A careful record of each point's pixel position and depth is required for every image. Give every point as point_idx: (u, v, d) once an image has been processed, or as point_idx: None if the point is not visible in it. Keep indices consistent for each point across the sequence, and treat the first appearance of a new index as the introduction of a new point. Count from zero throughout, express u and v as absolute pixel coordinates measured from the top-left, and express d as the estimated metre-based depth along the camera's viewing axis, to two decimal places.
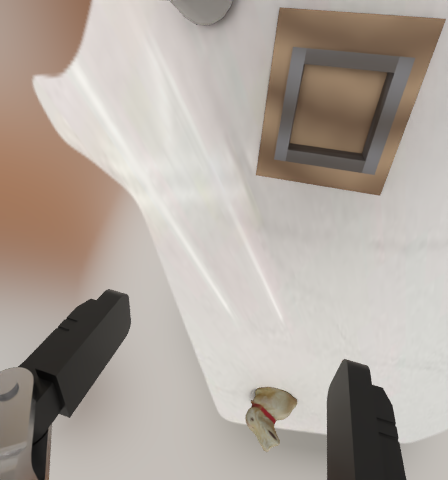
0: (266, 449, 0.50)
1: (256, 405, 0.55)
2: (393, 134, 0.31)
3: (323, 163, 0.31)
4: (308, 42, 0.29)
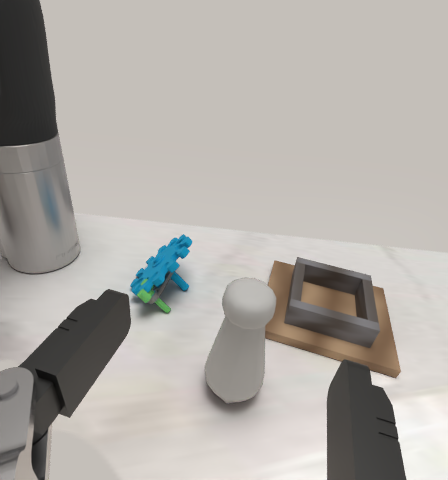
0: None
1: None
2: None
3: (371, 299, 0.38)
4: (281, 314, 0.38)
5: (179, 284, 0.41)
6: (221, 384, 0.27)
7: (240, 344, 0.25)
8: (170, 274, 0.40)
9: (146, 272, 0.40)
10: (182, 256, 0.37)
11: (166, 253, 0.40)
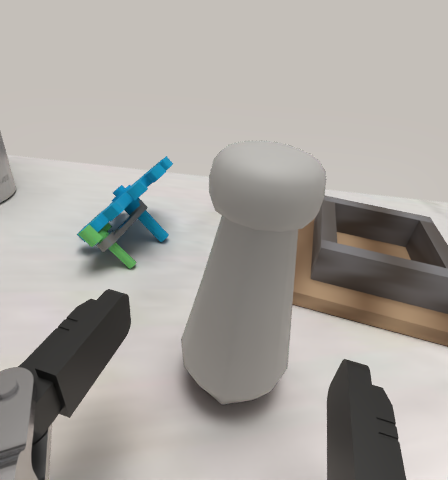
0: None
1: None
2: None
3: (442, 243, 0.25)
4: (304, 268, 0.25)
5: (153, 231, 0.28)
6: (211, 366, 0.14)
7: (248, 276, 0.12)
8: (138, 212, 0.26)
9: None
10: (154, 177, 0.24)
11: None
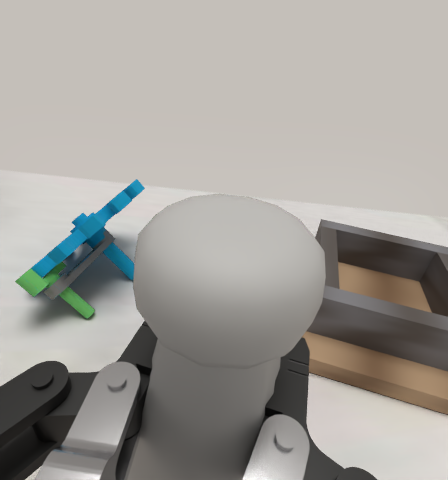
0: None
1: None
2: None
3: None
4: None
5: (122, 267, 0.23)
6: None
7: (200, 416, 0.07)
8: (102, 247, 0.22)
9: None
10: (115, 209, 0.19)
11: None
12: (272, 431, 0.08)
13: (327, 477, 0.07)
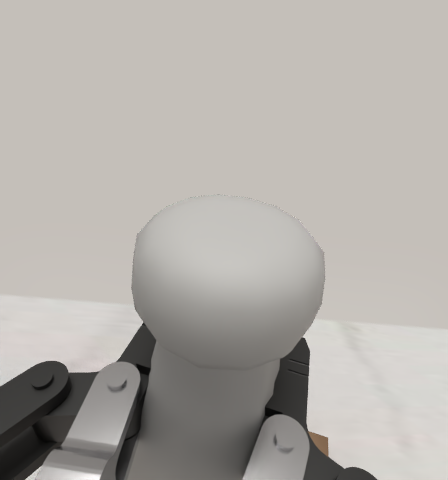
0: None
1: None
2: None
3: None
4: None
5: None
6: None
7: (198, 417, 0.07)
8: None
9: None
10: None
11: None
12: (272, 431, 0.08)
13: (327, 477, 0.07)
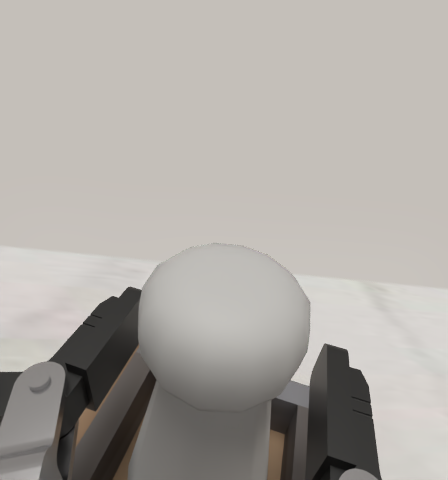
0: None
1: None
2: None
3: None
4: None
5: None
6: None
7: (197, 448, 0.08)
8: None
9: None
10: None
11: None
12: None
13: None
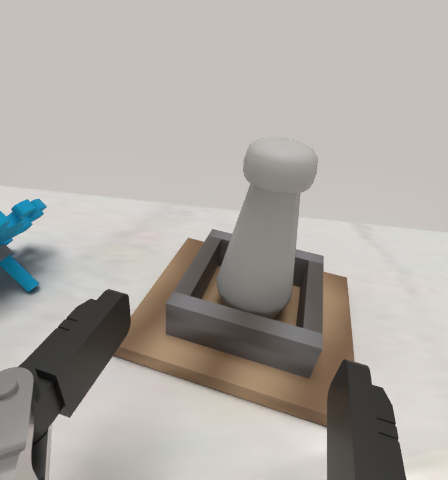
0: None
1: None
2: None
3: (317, 292, 0.22)
4: (165, 320, 0.23)
5: (17, 280, 0.24)
6: (241, 290, 0.21)
7: (268, 224, 0.18)
8: None
9: None
10: None
11: None
12: None
13: None
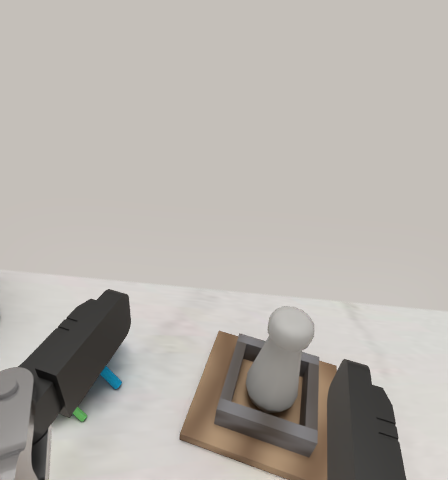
0: None
1: None
2: None
3: (315, 394, 0.33)
4: (212, 411, 0.34)
5: (108, 381, 0.35)
6: (264, 397, 0.32)
7: (283, 364, 0.29)
8: None
9: None
10: None
11: None
12: None
13: None
